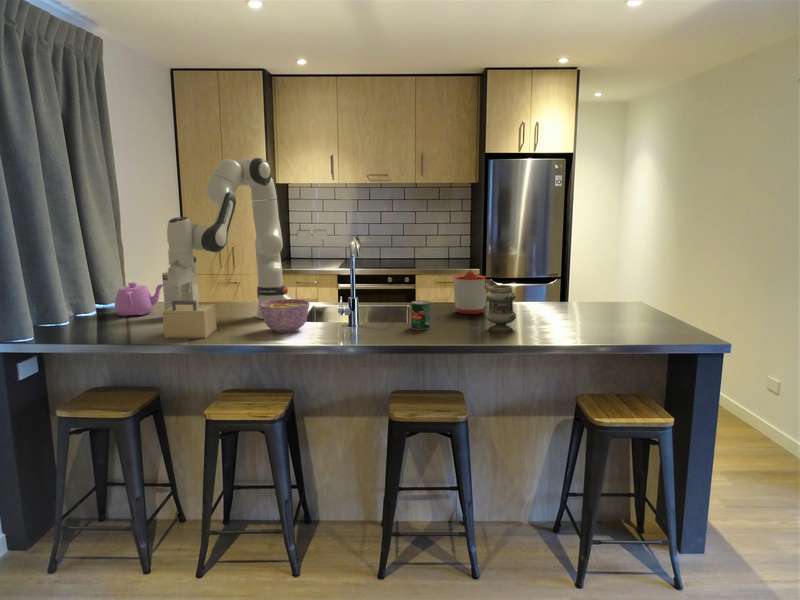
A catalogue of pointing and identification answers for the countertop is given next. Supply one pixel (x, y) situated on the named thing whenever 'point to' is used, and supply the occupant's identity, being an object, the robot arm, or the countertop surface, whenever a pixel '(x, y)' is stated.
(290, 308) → the bowl of food
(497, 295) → the apothecary jar
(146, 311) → the teapot
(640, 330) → the countertop surface
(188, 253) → the robot arm
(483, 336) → the countertop surface
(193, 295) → the cracker box
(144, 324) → the countertop surface
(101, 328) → the countertop surface
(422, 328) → the canned tomato
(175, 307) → the wooden box lid
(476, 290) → the citrus juicer
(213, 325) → the open wooden box
